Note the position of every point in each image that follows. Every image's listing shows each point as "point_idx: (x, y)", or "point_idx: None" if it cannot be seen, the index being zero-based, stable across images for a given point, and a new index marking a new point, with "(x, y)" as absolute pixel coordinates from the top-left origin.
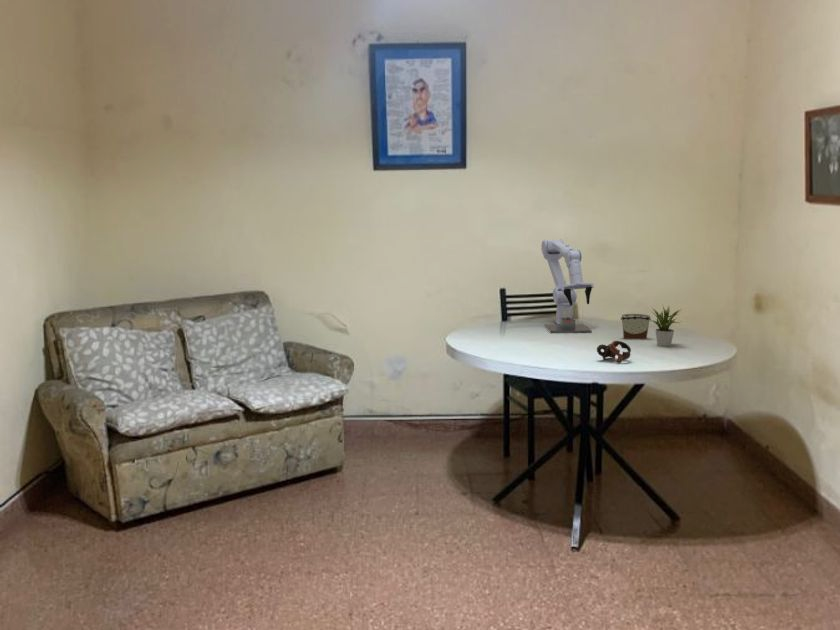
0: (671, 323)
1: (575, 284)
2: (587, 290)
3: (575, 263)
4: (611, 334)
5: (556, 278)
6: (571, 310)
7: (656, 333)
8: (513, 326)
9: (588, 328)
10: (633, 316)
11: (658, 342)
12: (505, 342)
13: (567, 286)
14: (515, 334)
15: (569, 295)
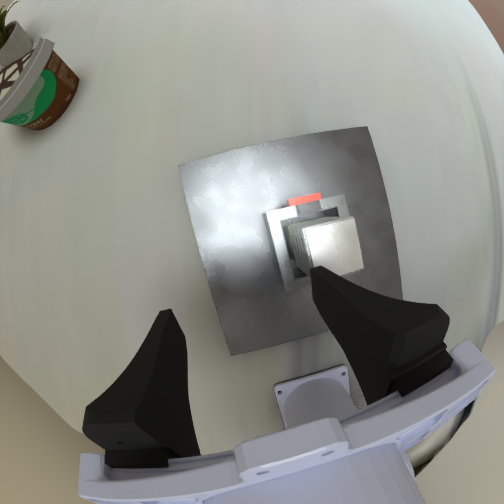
0: None
1: (347, 432)
2: (142, 389)
3: None
4: (102, 154)
5: None
6: (304, 228)
7: (20, 29)
8: (479, 270)
9: (195, 226)
10: (2, 91)
11: (29, 38)
12: (427, 9)
13: (442, 386)
14: (454, 107)
15: (370, 300)
